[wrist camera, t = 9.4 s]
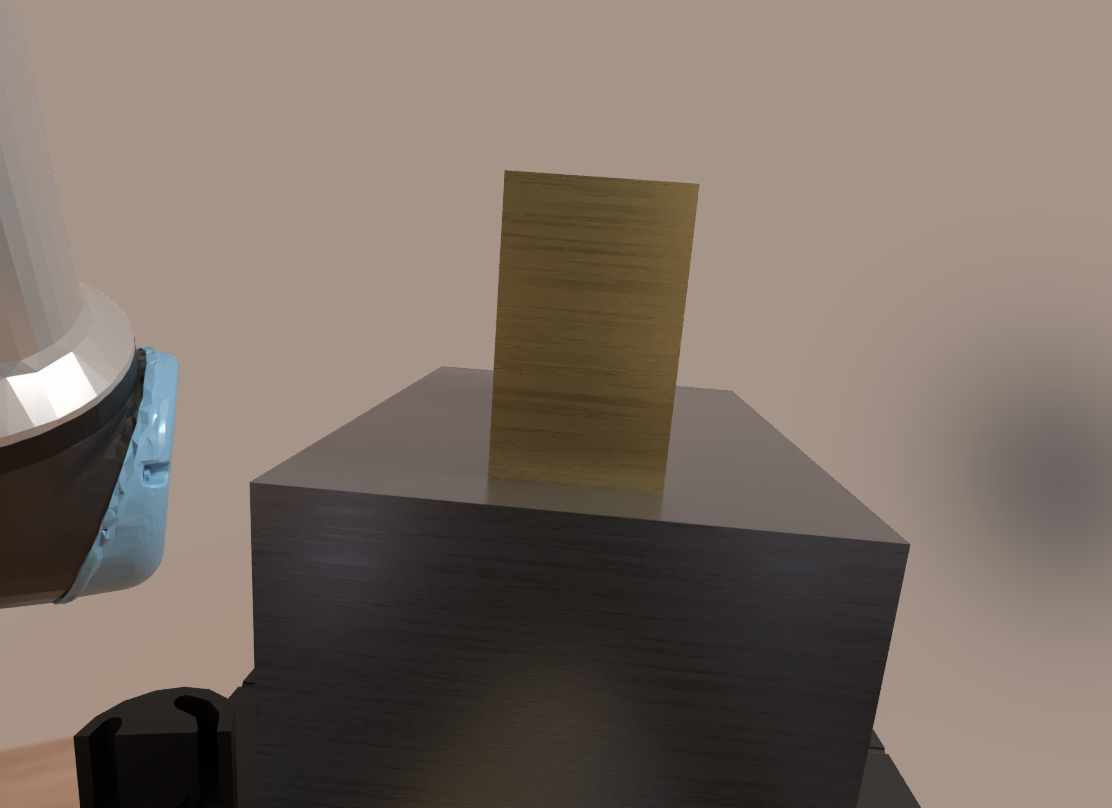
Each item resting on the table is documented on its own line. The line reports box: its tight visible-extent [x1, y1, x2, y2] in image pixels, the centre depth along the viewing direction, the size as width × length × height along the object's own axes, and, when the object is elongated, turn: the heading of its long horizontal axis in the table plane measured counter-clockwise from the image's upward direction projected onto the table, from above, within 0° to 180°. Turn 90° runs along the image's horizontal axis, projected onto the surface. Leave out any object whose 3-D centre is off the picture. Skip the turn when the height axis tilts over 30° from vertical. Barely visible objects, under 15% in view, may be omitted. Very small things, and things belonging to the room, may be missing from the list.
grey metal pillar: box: [250, 170, 910, 808], centre depth 7 cm, size 4×5×13 cm
